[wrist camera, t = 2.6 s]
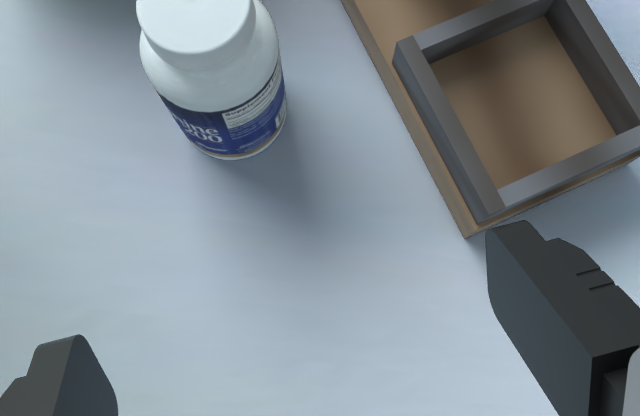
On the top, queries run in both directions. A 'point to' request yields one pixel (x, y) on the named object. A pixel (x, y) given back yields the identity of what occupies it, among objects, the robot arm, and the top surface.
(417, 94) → the bottle rack
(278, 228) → the top surface
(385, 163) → the top surface
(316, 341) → the top surface
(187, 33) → the pill bottle
